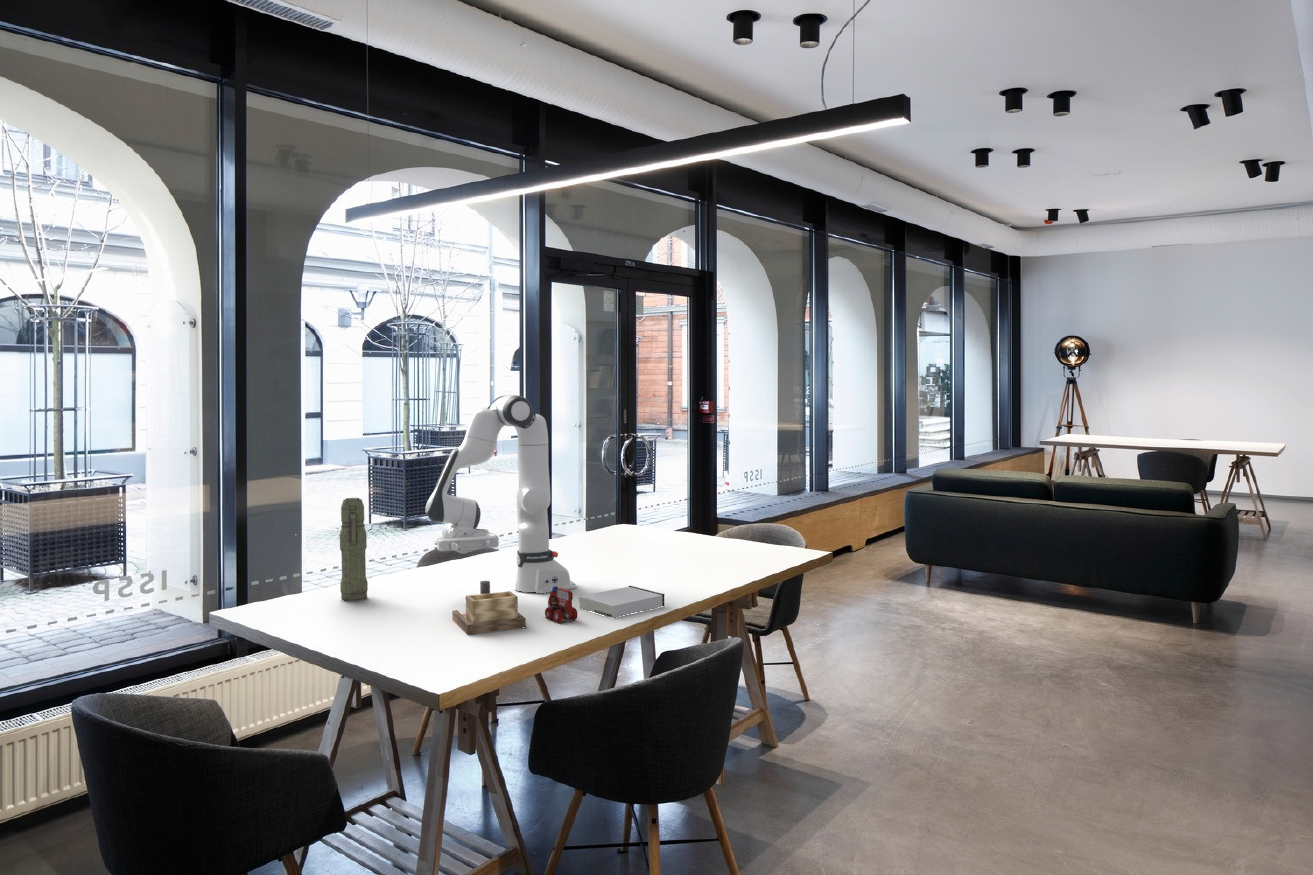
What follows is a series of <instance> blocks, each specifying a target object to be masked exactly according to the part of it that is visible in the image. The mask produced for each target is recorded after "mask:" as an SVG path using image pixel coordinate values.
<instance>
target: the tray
mask: <svg viewBox="0 0 1313 875" xmlns="http://www.w3.org/2000/svg"><path fill="white" fill-rule="evenodd" d="M451 615H452V621H453V622H454V623H455V624H456V625H457V626H458V627H459V628H460V629H461V630H462V631H463V632H464V633H465V634H466V635H468V636H469V635H476V634H485V633H493V632H495V633H496V632H502V631H509V630H510V631H511V630H518V628H519V629H524V628H523V627H527V626H526V624H527V619H526V618H527V617H525V616H524V615H522V614H521V613H519V612H518V618H514V619H506V620H497V621H489V622H480V623H470V622H469V621H468V620H467V619H466V613H461V612H460V611H459V610H458V609H456V610H455V609H453V610H452V614H451Z"/></svg>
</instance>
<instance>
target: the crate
mask: <svg viewBox="0 0 1313 875" xmlns="http://www.w3.org/2000/svg"><path fill="white" fill-rule="evenodd" d="M479 584H480V588H479V591H480V594H478V593H477V594H471V595H470V594H469V595H466V596H465V614H466V619H467V620H468V621H469V622H470V623H480V622H489V621H497V620H506V619H514V618H518V613H519V609H518V608H519V604H518V602H519V597H518V595H517V594H514V593H513V592H512V591H499V592H491V581H490V580H481V581H479Z"/></svg>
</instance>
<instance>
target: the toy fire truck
mask: <svg viewBox="0 0 1313 875" xmlns="http://www.w3.org/2000/svg"><path fill="white" fill-rule="evenodd" d="M573 599H574V595H573V591H571V590H570V589H569V590H566V589H562V588H558V587H557V586H554V587H553V588H552V591H551V592H550V593H549V597H548V600H547V607H546V608H545V610H544V615H545V619H547V618H548V619H552V620H553V621H554V623H556V622H557V623H556V624H561V623H563V622H564V620H567V619H568V620H570V619H572V620H571V621H576V620H577V619H578V616H579V615H578V614H579V613H578V610H577V609H576V607H574V606H573ZM548 619H547V620H548ZM575 619H576V620H575Z"/></svg>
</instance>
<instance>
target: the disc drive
mask: <svg viewBox="0 0 1313 875" xmlns="http://www.w3.org/2000/svg"><path fill="white" fill-rule="evenodd" d="M578 599H579V602H578V603H579V606H578V608H580V609H579V610H581V609H583V610H582V611H584V610H586V611H585V612H588V611H592V612H595V613H598V614H601V615H604V616H607V617H606V618H608V617H611V618H614V619H617V618H616V617H619V616H623V615H627V614H631V613H635V612H640V611H645V612H648V611H647V610H649V611H651V610H650V609H654V610H656V609H655V608H658V607H661V606H664V607H665V594H664V593H661V592H656V591H653V590H649V589H645V588H641V587H637V586H633V585H628V586H625V587H621V588H615V589H609V590H605V591H601V592H600V591H599V592H594V593H590V594H585V595H581V596H580V595H579V598H578ZM658 609H659V608H658ZM598 614H597V615H598ZM601 615H600V616H601ZM604 616H603V617H604ZM623 617H624V616H623ZM611 618H610V619H611ZM619 618H620V617H619Z"/></svg>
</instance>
